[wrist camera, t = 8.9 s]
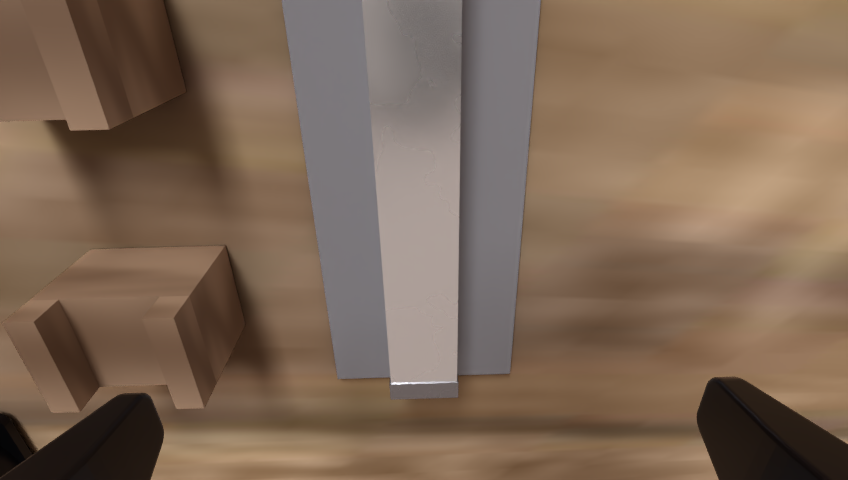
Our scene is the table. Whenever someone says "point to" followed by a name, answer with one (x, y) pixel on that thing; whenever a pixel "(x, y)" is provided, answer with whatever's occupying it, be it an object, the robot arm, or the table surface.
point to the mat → (356, 186)
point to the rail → (417, 185)
